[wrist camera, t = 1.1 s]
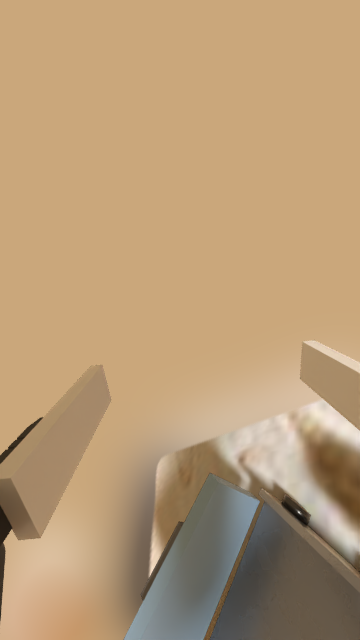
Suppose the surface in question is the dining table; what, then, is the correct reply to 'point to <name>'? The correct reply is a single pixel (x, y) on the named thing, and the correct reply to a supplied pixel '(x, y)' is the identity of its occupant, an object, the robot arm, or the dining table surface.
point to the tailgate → (195, 565)
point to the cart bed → (290, 583)
